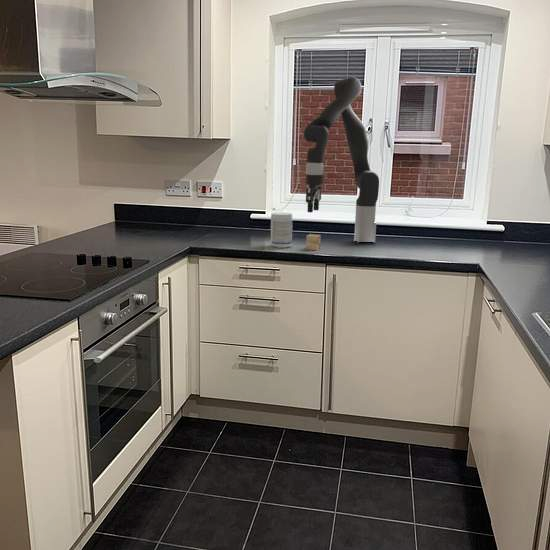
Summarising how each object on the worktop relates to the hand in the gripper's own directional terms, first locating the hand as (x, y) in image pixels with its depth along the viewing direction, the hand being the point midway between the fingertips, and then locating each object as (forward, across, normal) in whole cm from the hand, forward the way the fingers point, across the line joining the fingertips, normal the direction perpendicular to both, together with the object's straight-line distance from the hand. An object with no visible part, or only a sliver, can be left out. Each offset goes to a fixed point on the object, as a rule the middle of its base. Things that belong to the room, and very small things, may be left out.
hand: (313, 211), depth 254 cm
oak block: (+16, 0, +1) cm, 17 cm away
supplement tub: (+17, +1, -14) cm, 22 cm away
